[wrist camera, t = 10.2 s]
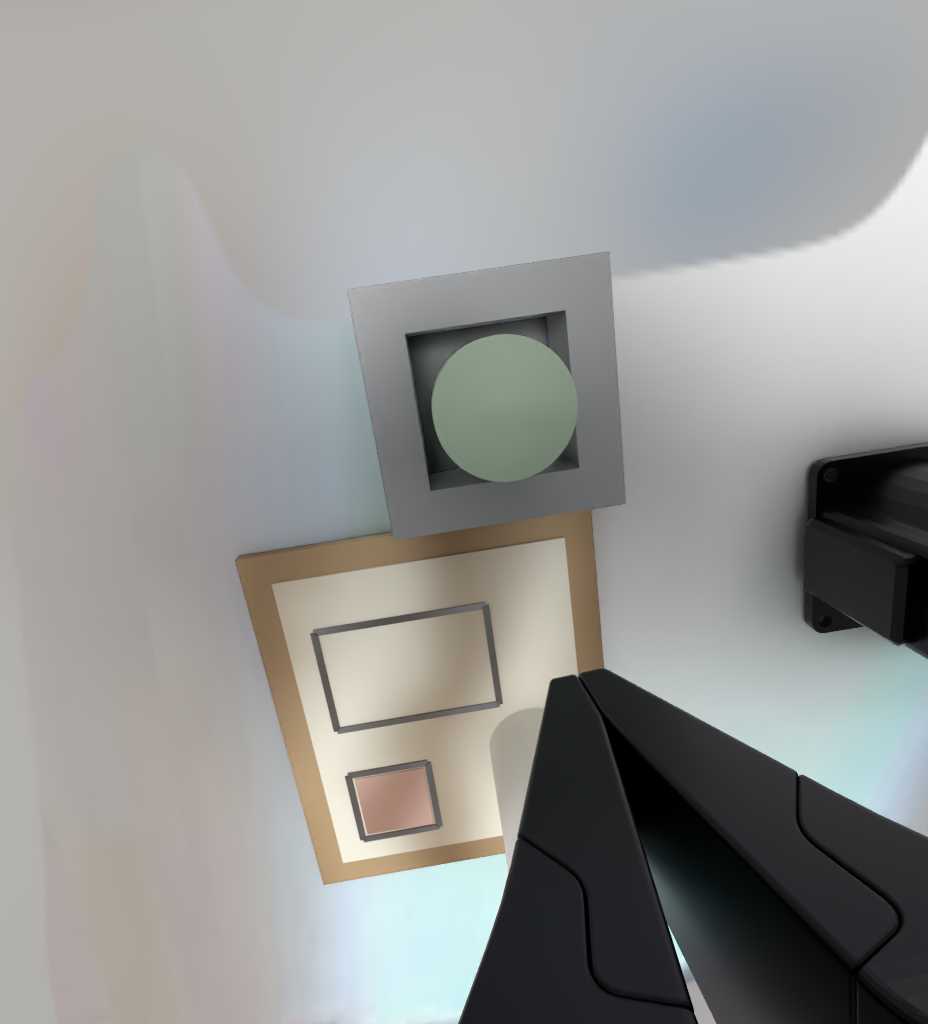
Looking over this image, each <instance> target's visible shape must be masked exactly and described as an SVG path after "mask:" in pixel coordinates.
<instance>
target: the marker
mask: <svg viewBox="0 0 928 1024" xmlns="http://www.w3.org/2000/svg"><path fill="white" fill-rule="evenodd" d="M543 712H544V709H525V710H521V711H518V712H515V713H513V714H511V715H509V716H508V717H506V718H505V719H504V720H503V721H501V722H500V723H499V724H498V726H497V727H496V728H495V730H494V732H493V734H492V736H491V739H490V745H489V749H490V757H491V763H492V770H493V776H494V782H495V789H496V795H497V801H498V808H499V814H500V820H501V827H502V833H503V839H504V845H505V852H506V858H507V864H508V871H509V869H510V865H511V861H512V856H513V851H514V847H515V842H516V840H517V834H518V829H519V825H520V820H521V815H522V810H523V806H524V801H525V796H526V792H527V787H528V782H529V777H530V773H531V768H532V763H533V759H534V754H535V749H536V744H537V740H538V735H539V730H540V726H541V721H542V716H543Z"/></svg>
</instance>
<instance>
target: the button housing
mask: <svg viewBox="0 0 928 1024" xmlns="http://www.w3.org/2000/svg"><path fill="white" fill-rule="evenodd" d="M347 293H348V298H349V303H350V308H351V314H352V320H353V325H354V330H355V336H356V341H357V346H358V352H359V357H360V362H361V368H362V373H363V378H364V384H365V389H366V394H367V400H368V405H369V410H370V416H371V421H372V426H373V432H374V437H375V443H376V448H377V453H378V459H379V464H380V469H381V475H382V480H383V485H384V491H385V496H386V501H387V507H388V512H389V517H390V523H391V528H392V533H393V539H394V540H398V539H405V538H411V537H417V536H424V535H430V534H436V533H443V532H449V531H456V530H462V529H468V528H475V527H481V526H487V525H494V524H500V523H506V522H513V521H519V520H525V519H532V518H538V517H544V516H551V515H557V514H563V513H570V512H576V511H583V510H589V509H595V508H602V507H608V506H614V505H621V504H626V502H625V487H624V471H623V456H622V440H621V425H620V409H619V393H618V378H617V362H616V347H615V331H614V316H613V300H612V285H611V269H610V254H609V252H602V253H595V254H588V255H581V256H575V257H568V258H560V259H554V260H547V261H540V262H533V263H526V264H520V265H512V266H505V267H498V268H491V269H484V270H477V271H470V272H464V273H456V274H450V275H442V276H436V277H429V278H422V279H415V280H408V281H401V282H394V283H387V284H380V285H374V286H367V287H359V288H352V289H347ZM543 316H546V320H547V330H548V340H549V348H550V349H551V350H552V351H553V352H554V353H556V354H557V355H558V356H559V358H560V359H561V360H562V361H563V362H564V364H565V365H566V367H567V369H568V370H569V372H570V374H571V376H572V379H573V381H574V385H575V388H576V393H577V399H578V411H577V420H576V424H575V428H574V431H573V434H572V436H571V438H570V440H569V442H568V444H567V446H566V447H565V449H564V450H563V452H562V453H561V454H560V455H559V457H558V458H557V459H556V460H555V461H554V462H553V463H552V464H550V465H549V466H548V467H547V468H545V469H544V470H542V471H541V472H539V473H537V474H535V475H533V476H531V477H528V478H525V479H522V480H517V481H511V482H495V481H489V480H485V479H482V478H478V477H476V476H474V475H472V474H470V473H468V472H466V471H465V470H463V469H457V470H450V471H444V472H437V473H431V474H429V468H428V462H427V456H426V450H425V444H424V437H423V431H422V425H421V419H420V413H419V407H418V401H417V394H416V388H415V382H414V376H413V370H412V364H411V358H410V351H409V345H408V339H407V336H414V335H421V334H428V333H435V332H441V331H448V330H455V329H462V328H469V327H475V326H482V325H489V324H496V323H503V322H509V321H516V320H523V319H530V318H537V317H543Z"/></svg>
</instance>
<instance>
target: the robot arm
mask: <svg viewBox="0 0 928 1024" xmlns="http://www.w3.org/2000/svg"><path fill="white" fill-rule="evenodd" d="M828 469H830V475H829V476H828V478H827V479H825V480H824V474H825V472H826V471H827V470H828ZM804 587H805V589H806V598H805V621H806V623H807V625H808V626H809V627H811V628H812V629H814V630H815V631H817V632H819V633H827V632H833V631H839V630H845V629H852V628H858V627H866V628H868V629H869V630H871V631H872V632H874V633H876V634H877V635H879V636H881V637H882V638H884V639H885V640H887V641H889V642H890V643H892V644H894V645H897V646H899V645H905V646H906V647H908V648H910V649H911V650H913V651H915V652H916V653H918V654H920V655H921V656H923V657H925V658H926V659H928V443H922V444H915V445H909V446H903V447H896V448H890V449H883V450H877V451H871V452H864V453H858V454H851V455H845V456H839V457H832V458H826V459H822V460H819V461H817V462H816V463H815V464H814V465H813V466H812V468H811V469H810V474H809V497H808V523H807V526H806V543H805V578H804ZM823 615H824V618H823V619H822V620H821V621H819V619H820V617H821V616H823ZM667 923H668V924H667ZM668 925H669V927H670V929H671V931H672V933H673V935H674V937H675V940H676V942H677V944H678V946H679V948H680V950H681V952H682V954H683V956H684V958H685V960H686V962H687V964H688V966H689V968H690V970H691V972H692V974H693V976H694V978H695V980H696V983H697V985H698V987H699V989H700V990H701V993H702V995H703V997H704V999H705V1001H706V1003H707V1005H708V1007H709V1009H710V1011H711V1013H712V1015H713V1017H714V1019H715V1021H716V1023H717V1024H928V837H926V836H924V835H922V834H920V833H918V832H915V831H913V830H911V829H909V828H907V827H905V826H903V825H900V824H898V823H896V822H894V821H892V820H890V819H888V818H885V817H883V816H881V815H879V814H877V813H875V812H873V811H871V810H869V809H867V808H865V807H863V806H862V805H860V804H858V803H856V802H854V801H852V800H850V799H848V798H846V797H844V796H842V795H840V794H838V793H836V792H834V791H832V790H830V789H828V788H827V787H825V786H823V785H821V784H819V783H817V782H815V781H814V780H812V779H810V778H808V777H806V776H804V775H799V776H798V774H797V772H796V771H795V770H793V769H791V768H789V767H787V766H785V765H783V764H782V763H780V762H778V761H776V760H774V759H772V758H770V757H769V756H767V755H765V754H763V753H761V752H759V751H758V750H756V749H754V748H752V747H750V746H748V745H746V744H745V743H743V742H741V741H739V740H737V739H735V738H733V737H732V736H730V735H728V734H726V733H724V732H722V731H720V730H719V729H717V728H715V727H713V726H711V725H709V724H707V723H706V722H704V721H702V720H700V719H698V718H696V717H694V716H693V715H691V714H689V713H687V712H685V711H683V710H681V709H680V708H678V707H676V706H674V705H672V704H670V703H668V702H667V701H665V700H663V699H661V698H659V697H657V696H655V695H654V694H652V693H650V692H648V691H646V690H644V689H642V688H641V687H639V686H637V685H635V684H633V683H631V682H629V681H628V680H626V679H624V678H622V677H620V676H618V675H616V674H615V673H613V672H611V671H609V670H607V669H605V668H599V669H594V670H590V671H586V672H582V673H580V674H579V676H578V677H577V676H576V675H573V674H572V675H568V676H563V677H559V678H554V679H552V680H551V681H550V683H549V688H548V693H547V697H546V702H545V707H544V712H543V716H542V721H541V726H540V730H539V735H538V740H537V744H536V749H535V754H534V759H533V763H532V768H531V773H530V777H529V782H528V787H527V792H526V796H525V801H524V806H523V810H522V815H521V820H520V825H519V829H518V834H517V840H516V842H515V847H514V851H513V856H512V861H511V865H510V869H509V873H508V877H507V881H506V885H505V889H504V893H503V897H502V901H501V904H500V907H499V910H498V913H497V916H496V919H495V922H494V925H493V928H492V931H491V934H490V937H489V940H488V943H487V946H486V949H485V952H484V955H483V957H482V960H481V963H480V966H479V968H478V971H477V974H476V976H475V979H474V982H473V985H472V987H471V990H470V993H469V995H468V998H467V1001H466V1004H465V1006H464V1009H463V1012H462V1015H461V1017H460V1020H459V1023H458V1024H698V1021H697V1020H696V1017H695V1015H694V1008H693V1005H692V1002H691V999H690V995H689V992H688V989H687V986H686V982H685V979H684V976H683V973H682V970H681V966H680V963H679V960H678V957H677V953H676V950H675V947H674V944H673V941H672V937H671V934H670V931H669V928H668Z"/></svg>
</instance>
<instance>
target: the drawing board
mask: <svg viewBox="0 0 928 1024" xmlns="http://www.w3.org/2000/svg"><path fill="white" fill-rule="evenodd" d="M235 562H236V566H237V570H238V573H239V577H240V581H241V584H242V588H243V592H244V595H245V599H246V603H247V606H248V610H249V614H250V617H251V621H252V625H253V628H254V632H255V635H256V639H257V643H258V646H259V650H260V654H261V657H262V661H263V665H264V668H265V672H266V676H267V679H268V683H269V687H270V690H271V694H272V698H273V701H274V705H275V709H276V712H277V716H278V720H279V723H280V727H281V731H282V734H283V738H284V742H285V745H286V749H287V753H288V756H289V760H290V764H291V767H292V771H293V775H294V778H295V782H296V786H297V789H298V793H299V797H300V800H301V804H302V808H303V811H304V815H305V819H306V822H307V826H308V830H309V833H310V837H311V841H312V844H313V848H314V852H315V855H316V859H317V863H318V866H319V870H320V874H321V877H322V881H323V885H325V884H331V883H337V882H343V881H348V880H354V879H360V878H365V877H371V876H377V875H383V874H388V873H394V872H400V871H405V870H411V869H417V868H423V867H428V866H434V865H440V864H446V863H451V862H457V861H463V860H468V859H474V858H480V857H486V856H491V855H497V854H503V853H506V852H505V845H504V839H503V833H502V827H501V820H500V814H499V808H498V801H497V795H496V789H495V782H494V776H493V770H492V763H491V757H490V749H489V745H490V739H491V736H492V734H493V732H494V730H495V728H496V727H497V726H498V724H499V723H500V722H501V721H503V720H504V719H505V718H506V717H508V716H509V715H511V714H513V713H515V712H518V711H521V710H525V709H544V707H545V702H546V697H547V693H548V688H549V683H550V681H551V680H552V679H554V678H559V677H563V676H568V675H572V674H573V675H576V676H577V677H578V676H579V674H580V673H582V672H586V671H590V670H594V669H599V668H604V663H603V650H602V638H601V626H600V614H599V602H598V590H597V578H596V566H595V553H594V541H593V529H592V517H591V509H589V510H583V511H576V512H570V513H563V514H557V515H551V516H544V517H538V518H532V519H525V520H519V521H513V522H506V523H500V524H494V525H487V526H481V527H475V528H468V529H462V530H456V531H449V532H443V533H436V534H430V535H424V536H417V537H411V538H405V539H398V540H394V539H393V533H392V532H389V533H382V534H376V535H370V536H363V537H357V538H350V539H344V540H338V541H331V542H325V543H319V544H312V545H306V546H300V547H293V548H287V549H280V550H274V551H268V552H261V553H255V554H249V555H242V556H238V557H237V558H236V560H235Z"/></svg>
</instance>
